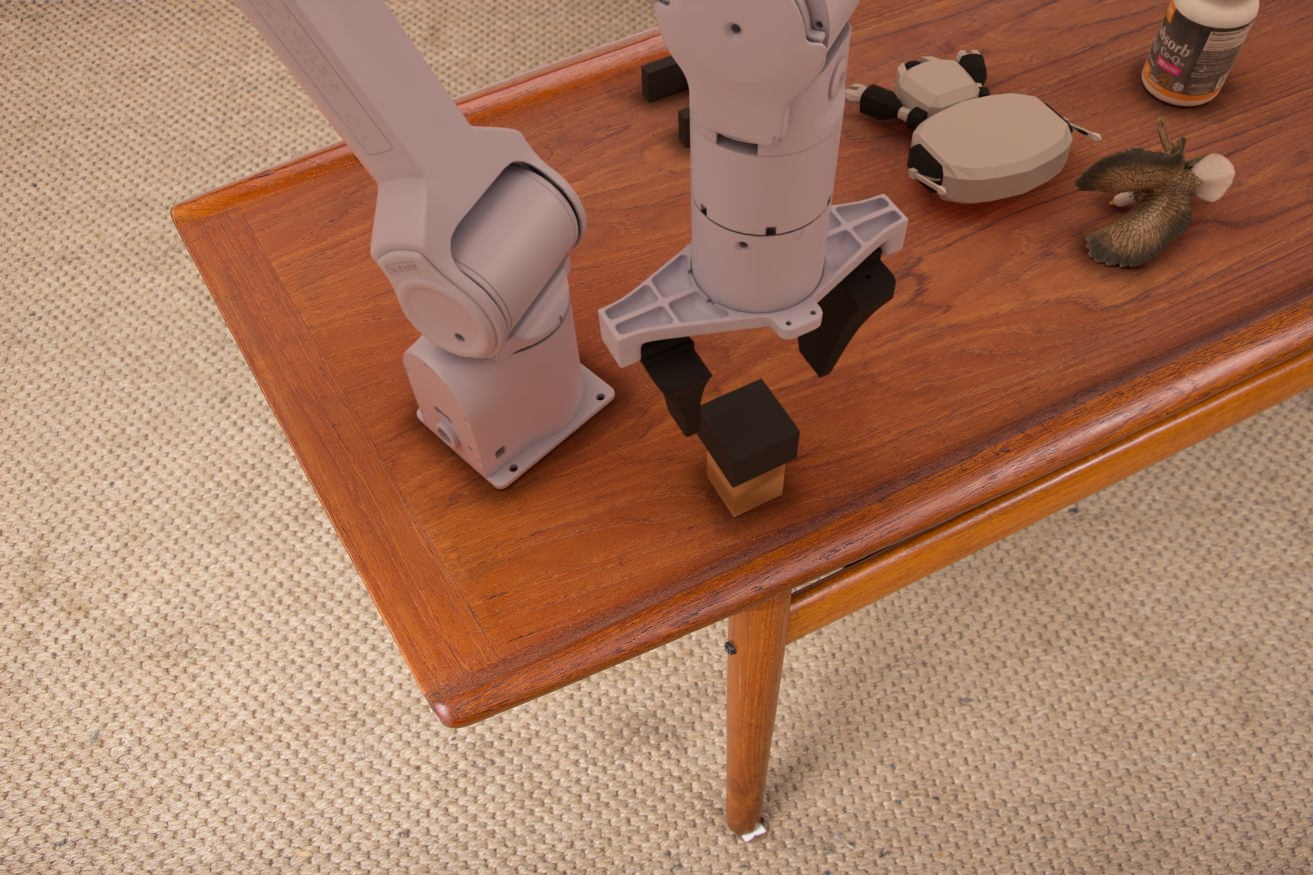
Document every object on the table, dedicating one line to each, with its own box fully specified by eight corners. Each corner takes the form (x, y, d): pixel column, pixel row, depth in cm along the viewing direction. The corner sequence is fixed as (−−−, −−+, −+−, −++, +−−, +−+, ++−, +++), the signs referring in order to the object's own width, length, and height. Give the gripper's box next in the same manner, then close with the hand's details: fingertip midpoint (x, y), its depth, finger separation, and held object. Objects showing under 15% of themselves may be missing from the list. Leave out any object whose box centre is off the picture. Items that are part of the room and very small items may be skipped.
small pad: (732, 488, 57) (733, 461, 55) (696, 434, 59) (696, 406, 57) (797, 458, 58) (800, 430, 56) (759, 406, 60) (761, 377, 58)
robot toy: (829, 124, 80) (939, 243, 72) (833, 70, 77) (949, 189, 68) (970, 78, 83) (1093, 188, 74) (980, 24, 79) (1111, 133, 70)
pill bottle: (1124, 71, 82) (1171, -52, 73) (1191, 55, 82) (1244, -69, 74) (1166, 117, 78) (1220, -6, 70) (1235, 100, 79) (1296, -24, 71)
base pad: (685, 148, 78) (684, 119, 76) (642, 94, 82) (640, 65, 80) (791, 108, 80) (793, 79, 78) (744, 58, 84) (745, 28, 82)
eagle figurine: (1110, 144, 75) (1041, 188, 71) (1201, 91, 69) (1132, 136, 64) (1165, 238, 75) (1100, 288, 71) (1261, 194, 69) (1196, 245, 65)
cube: (733, 518, 60) (735, 480, 57) (706, 476, 62) (706, 436, 59) (782, 495, 61) (787, 456, 58) (754, 454, 63) (757, 414, 60)
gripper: (645, 319, 39) (658, 509, 51) (970, 184, 43) (915, 390, 54) (566, 202, 43) (594, 403, 54) (870, 86, 46) (838, 298, 58)
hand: (750, 391), depth 54 cm, fingers open, 7 cm apart
